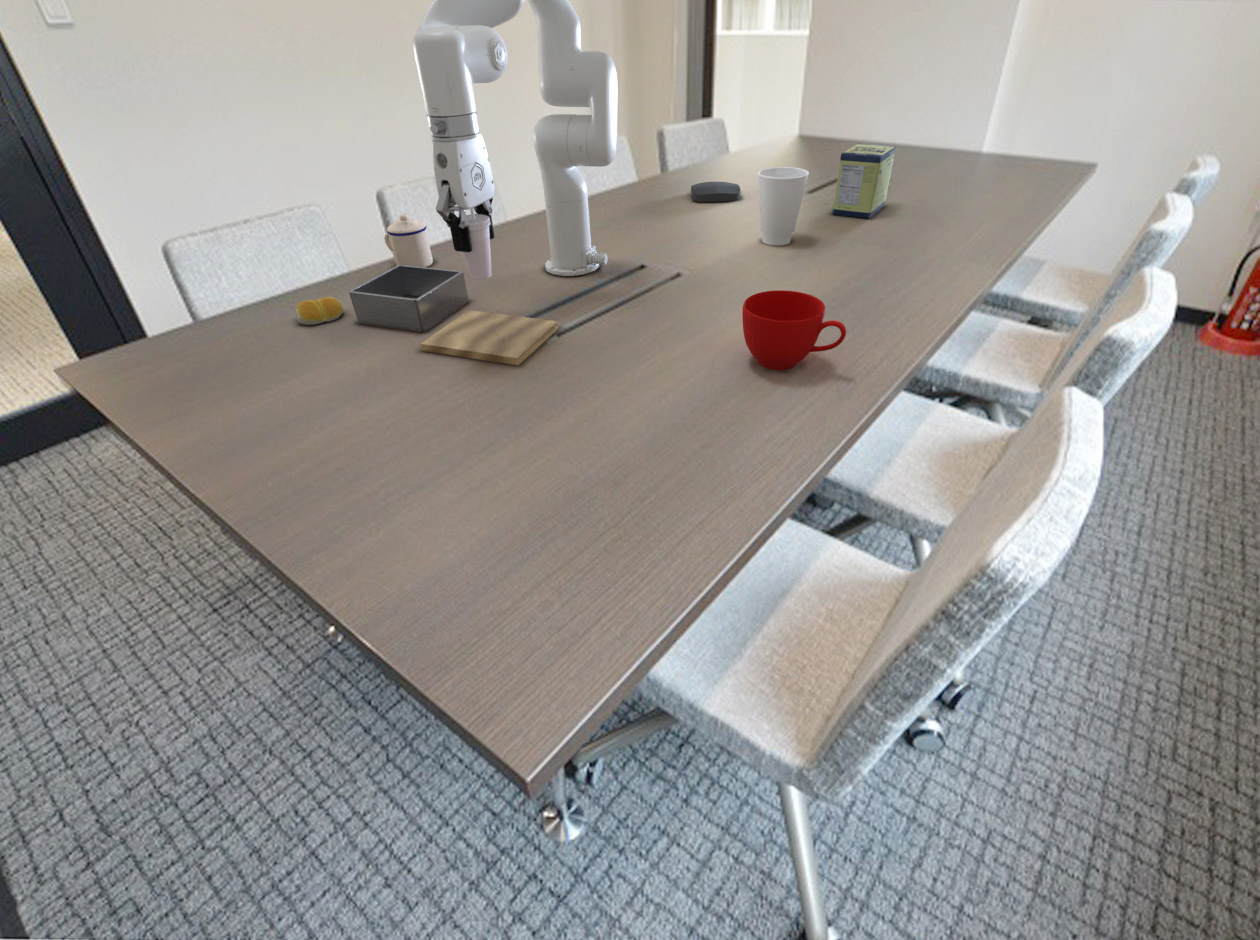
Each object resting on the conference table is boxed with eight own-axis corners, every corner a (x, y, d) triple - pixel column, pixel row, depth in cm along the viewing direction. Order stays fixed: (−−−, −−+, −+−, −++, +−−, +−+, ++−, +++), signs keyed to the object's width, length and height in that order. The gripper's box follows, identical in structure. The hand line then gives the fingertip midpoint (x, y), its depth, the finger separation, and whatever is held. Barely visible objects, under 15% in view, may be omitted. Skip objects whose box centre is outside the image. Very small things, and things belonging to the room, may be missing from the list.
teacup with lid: (441, 260, 157) (431, 211, 150) (417, 272, 151) (405, 221, 144) (403, 255, 162) (391, 207, 155) (378, 267, 155) (364, 217, 148)
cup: (747, 246, 158) (752, 176, 148) (758, 232, 166) (763, 165, 157) (795, 250, 154) (804, 179, 144) (804, 235, 163) (812, 167, 153)
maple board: (558, 328, 122) (558, 321, 122) (518, 365, 111) (517, 358, 110) (469, 316, 129) (468, 309, 128) (422, 351, 117) (420, 343, 116)
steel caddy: (469, 301, 135) (464, 271, 131) (424, 332, 123) (416, 300, 119) (406, 293, 140) (399, 264, 136) (357, 323, 128) (347, 291, 124)
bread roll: (348, 318, 130) (342, 299, 128) (302, 329, 127) (295, 310, 124) (339, 305, 136) (333, 287, 134) (294, 316, 132) (288, 297, 130)
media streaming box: (741, 201, 191) (742, 191, 189) (692, 203, 191) (693, 193, 190) (735, 189, 203) (736, 179, 201) (689, 191, 203) (690, 181, 201)
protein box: (885, 205, 182) (896, 145, 173) (869, 219, 172) (881, 156, 163) (848, 201, 187) (857, 142, 178) (831, 214, 177) (840, 153, 167)
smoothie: (491, 283, 109) (476, 197, 101) (456, 282, 110) (438, 196, 102) (504, 270, 114) (491, 187, 106) (471, 269, 115) (455, 186, 107)
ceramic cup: (825, 392, 99) (835, 332, 93) (726, 368, 107) (729, 311, 101) (850, 358, 108) (860, 302, 102) (756, 339, 116) (761, 285, 110)
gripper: (442, 137, 91) (466, 263, 101) (503, 118, 104) (519, 231, 114) (399, 136, 93) (426, 259, 104) (464, 117, 106) (482, 228, 117)
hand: (475, 243), depth 109 cm, fingers closed on smoothie, 6 cm apart
